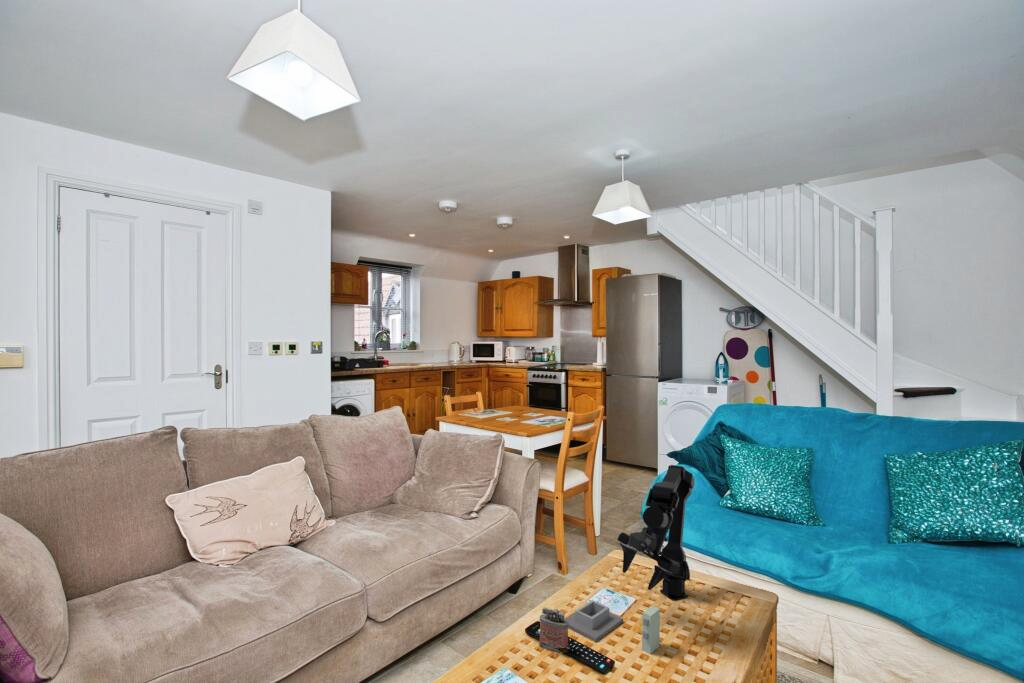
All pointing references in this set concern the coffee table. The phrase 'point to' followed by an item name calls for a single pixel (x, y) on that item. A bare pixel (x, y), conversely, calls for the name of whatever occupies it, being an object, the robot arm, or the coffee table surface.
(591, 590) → the coffee table surface
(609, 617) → the grey socket base
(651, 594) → the coffee table surface
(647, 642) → the pale green rectangular block
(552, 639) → the lighter
